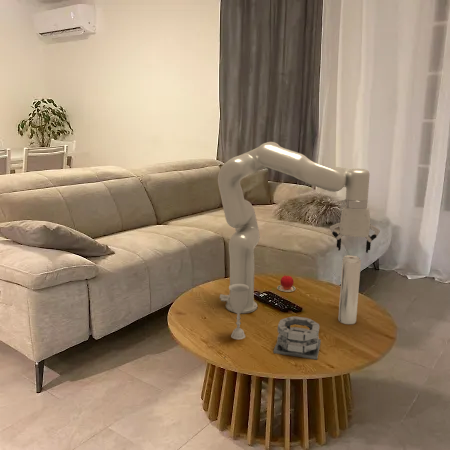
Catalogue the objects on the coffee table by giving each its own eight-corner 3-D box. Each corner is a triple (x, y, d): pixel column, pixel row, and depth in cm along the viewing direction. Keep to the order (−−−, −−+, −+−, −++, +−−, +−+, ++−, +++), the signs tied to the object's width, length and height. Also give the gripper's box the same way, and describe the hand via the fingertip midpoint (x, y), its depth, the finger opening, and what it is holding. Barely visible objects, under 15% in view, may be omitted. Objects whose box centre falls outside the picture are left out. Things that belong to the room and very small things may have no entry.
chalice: (241, 342, 159) (242, 293, 155) (224, 337, 163) (224, 288, 158) (251, 334, 165) (252, 286, 161) (235, 329, 169) (235, 282, 164)
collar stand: (273, 353, 152) (274, 331, 150) (280, 335, 164) (281, 314, 162) (316, 360, 148) (318, 337, 146) (320, 341, 161) (322, 319, 159)
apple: (274, 286, 210) (275, 272, 208) (291, 285, 212) (292, 271, 210) (280, 293, 202) (281, 279, 201) (298, 291, 204) (298, 277, 203)
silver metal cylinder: (356, 325, 173) (361, 260, 167) (338, 323, 174) (343, 259, 168) (355, 317, 179) (360, 255, 173) (338, 316, 180) (342, 254, 174)
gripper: (330, 204, 165) (327, 251, 169) (382, 207, 160) (378, 255, 164) (332, 200, 172) (329, 245, 176) (381, 203, 167) (377, 249, 171)
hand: (353, 250), depth 170 cm, fingers open, 9 cm apart
